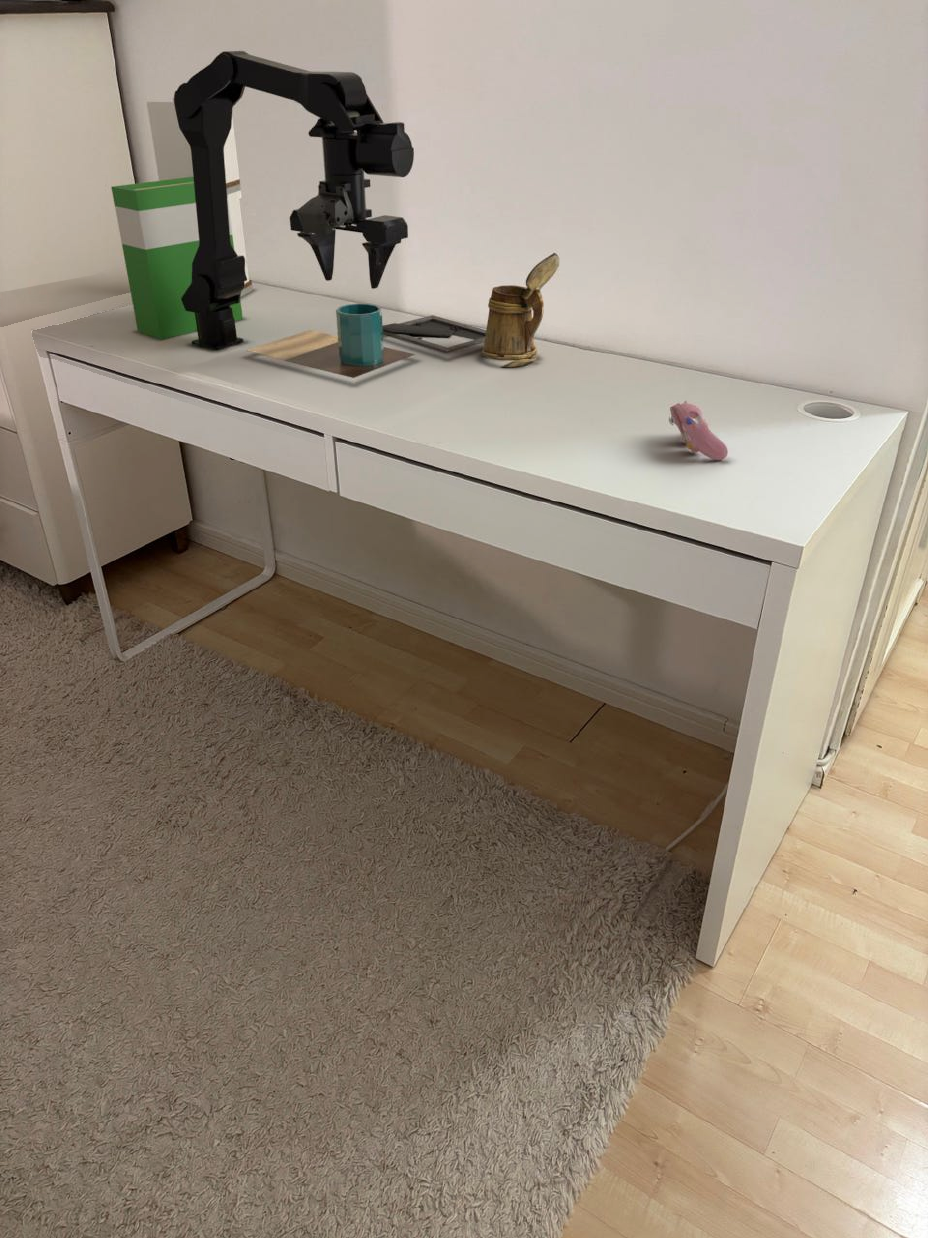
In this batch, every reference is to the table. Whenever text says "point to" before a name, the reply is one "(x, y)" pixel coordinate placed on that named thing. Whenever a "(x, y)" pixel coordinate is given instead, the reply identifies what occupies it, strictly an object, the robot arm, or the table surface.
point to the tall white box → (178, 164)
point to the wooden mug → (517, 316)
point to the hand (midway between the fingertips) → (351, 284)
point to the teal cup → (360, 334)
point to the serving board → (321, 353)
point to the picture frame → (436, 332)
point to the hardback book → (160, 252)
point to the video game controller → (696, 431)
